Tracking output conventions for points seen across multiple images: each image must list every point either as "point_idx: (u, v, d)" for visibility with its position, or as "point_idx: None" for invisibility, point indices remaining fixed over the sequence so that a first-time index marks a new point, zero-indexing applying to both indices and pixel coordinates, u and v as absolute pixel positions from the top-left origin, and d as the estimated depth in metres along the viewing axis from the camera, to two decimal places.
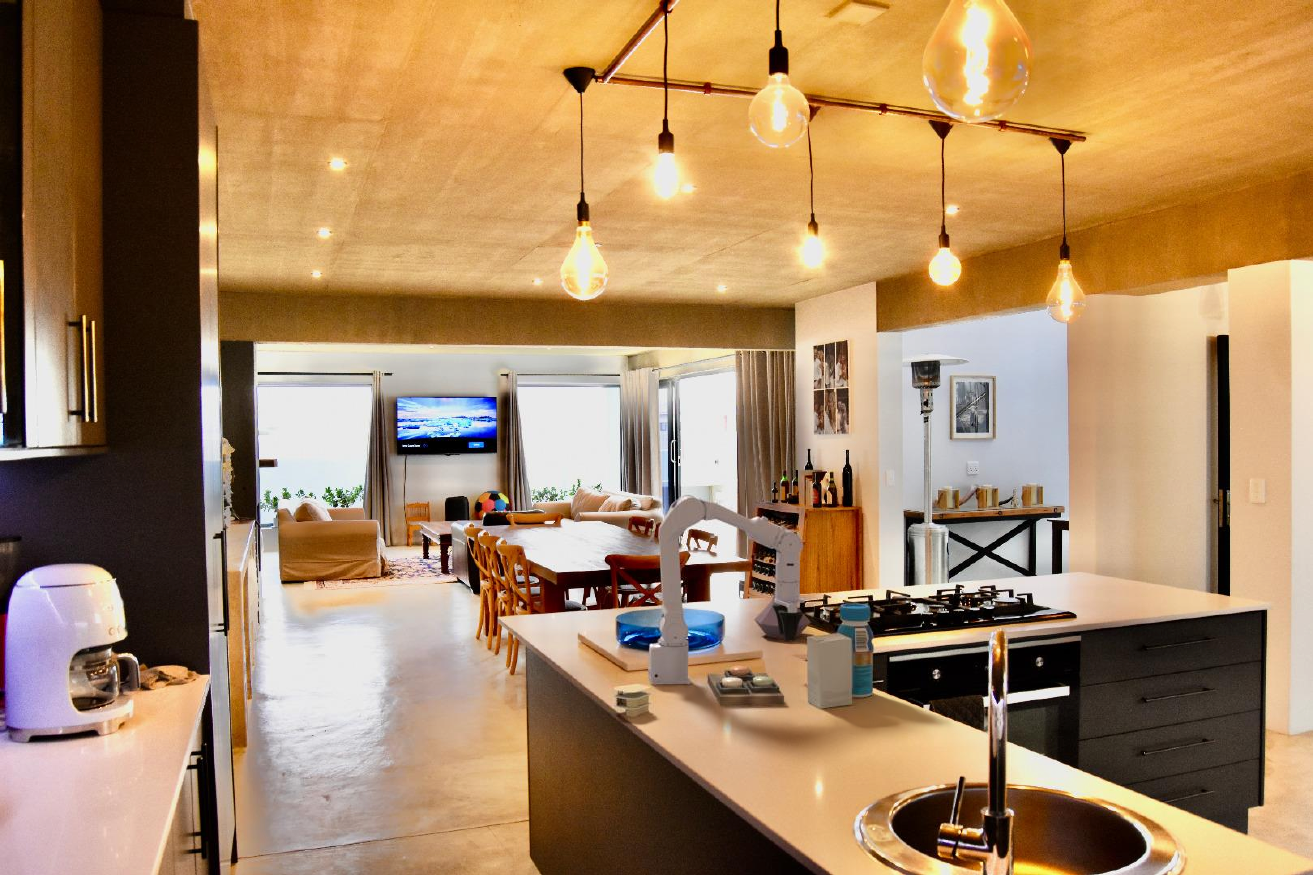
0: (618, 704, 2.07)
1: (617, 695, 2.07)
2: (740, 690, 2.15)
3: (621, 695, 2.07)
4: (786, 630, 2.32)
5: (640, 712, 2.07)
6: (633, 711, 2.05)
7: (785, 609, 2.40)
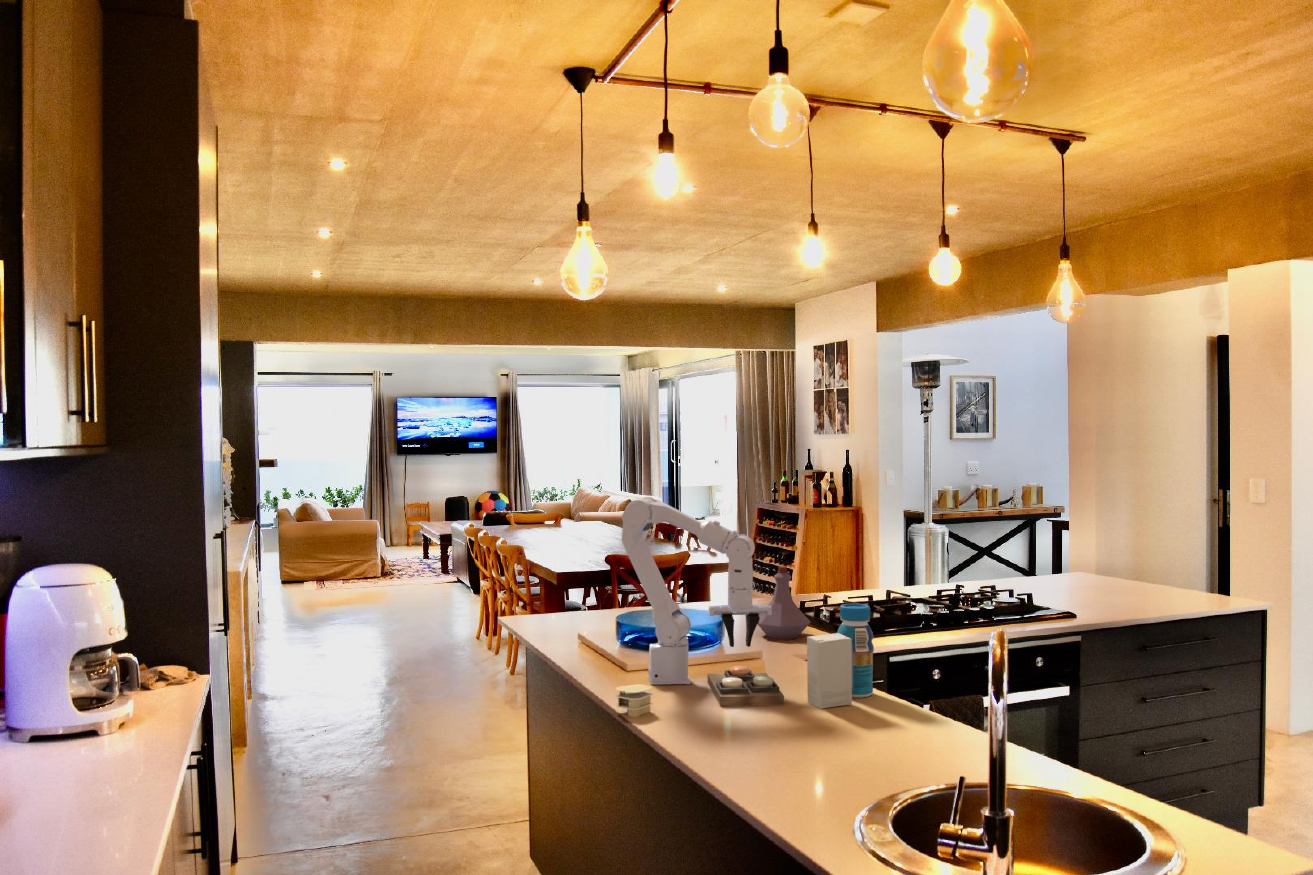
0: (620, 704, 2.07)
1: (619, 695, 2.06)
2: (740, 690, 2.15)
3: (623, 695, 2.06)
4: (728, 634, 2.30)
5: (642, 712, 2.07)
6: (635, 711, 2.05)
7: (748, 620, 2.29)
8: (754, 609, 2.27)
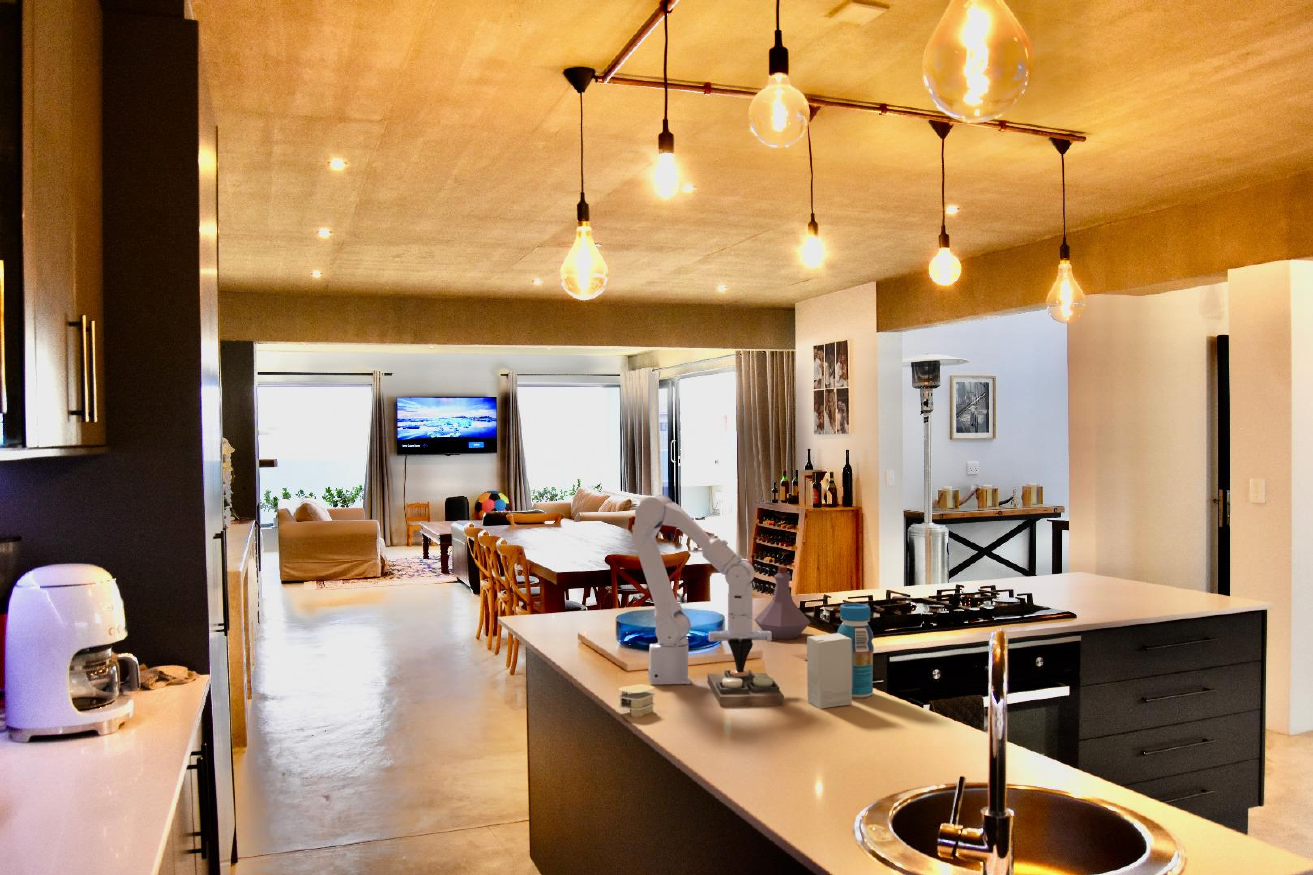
0: (622, 705, 2.07)
1: (622, 696, 2.06)
2: (740, 690, 2.15)
3: (626, 695, 2.06)
4: (735, 659, 2.30)
5: (645, 712, 2.07)
6: (638, 711, 2.05)
7: (741, 645, 2.29)
8: (754, 635, 2.27)
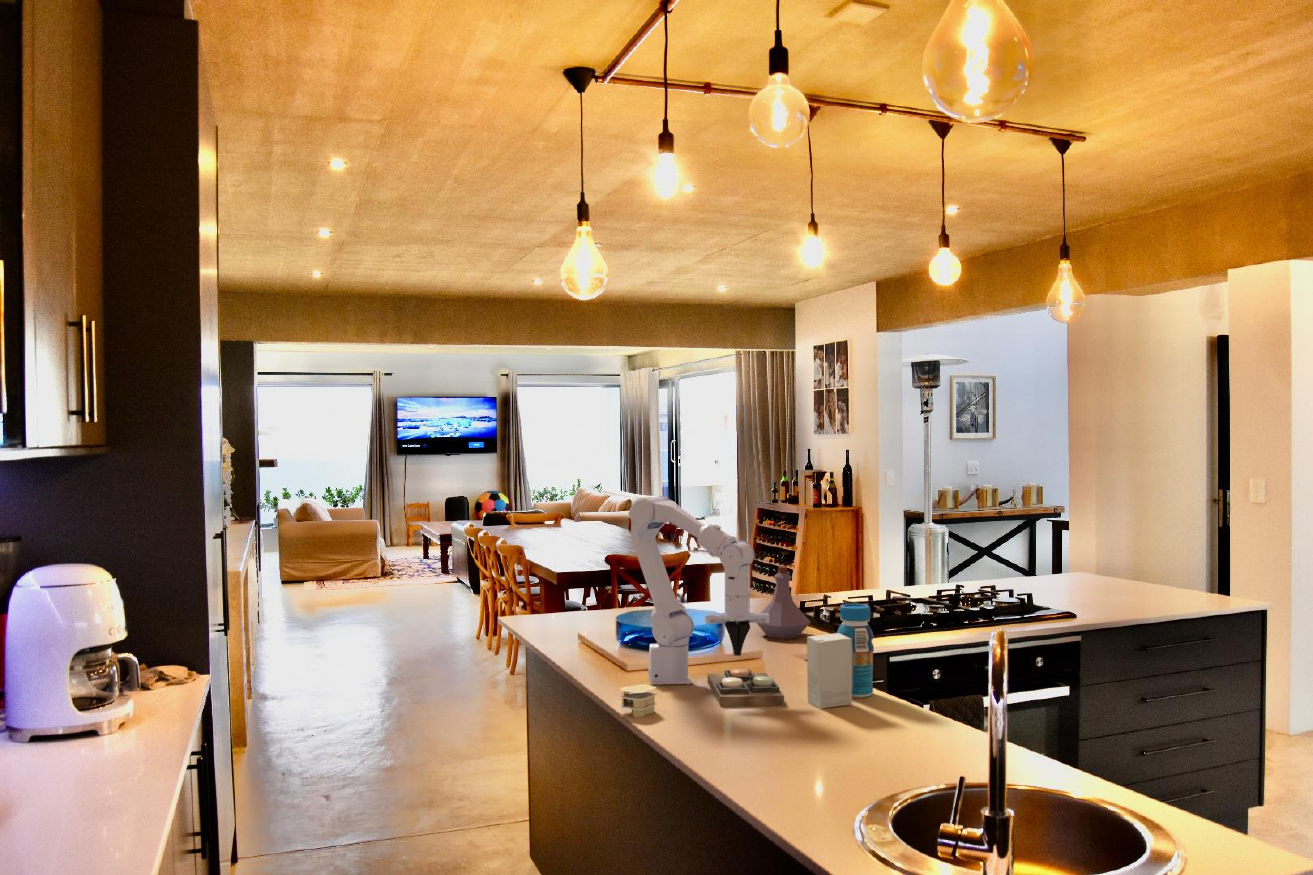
0: (624, 705, 2.07)
1: (623, 696, 2.06)
2: (740, 690, 2.15)
3: (627, 696, 2.06)
4: (732, 642, 2.25)
5: (646, 712, 2.07)
6: (640, 712, 2.04)
7: (738, 628, 2.24)
8: (751, 617, 2.22)
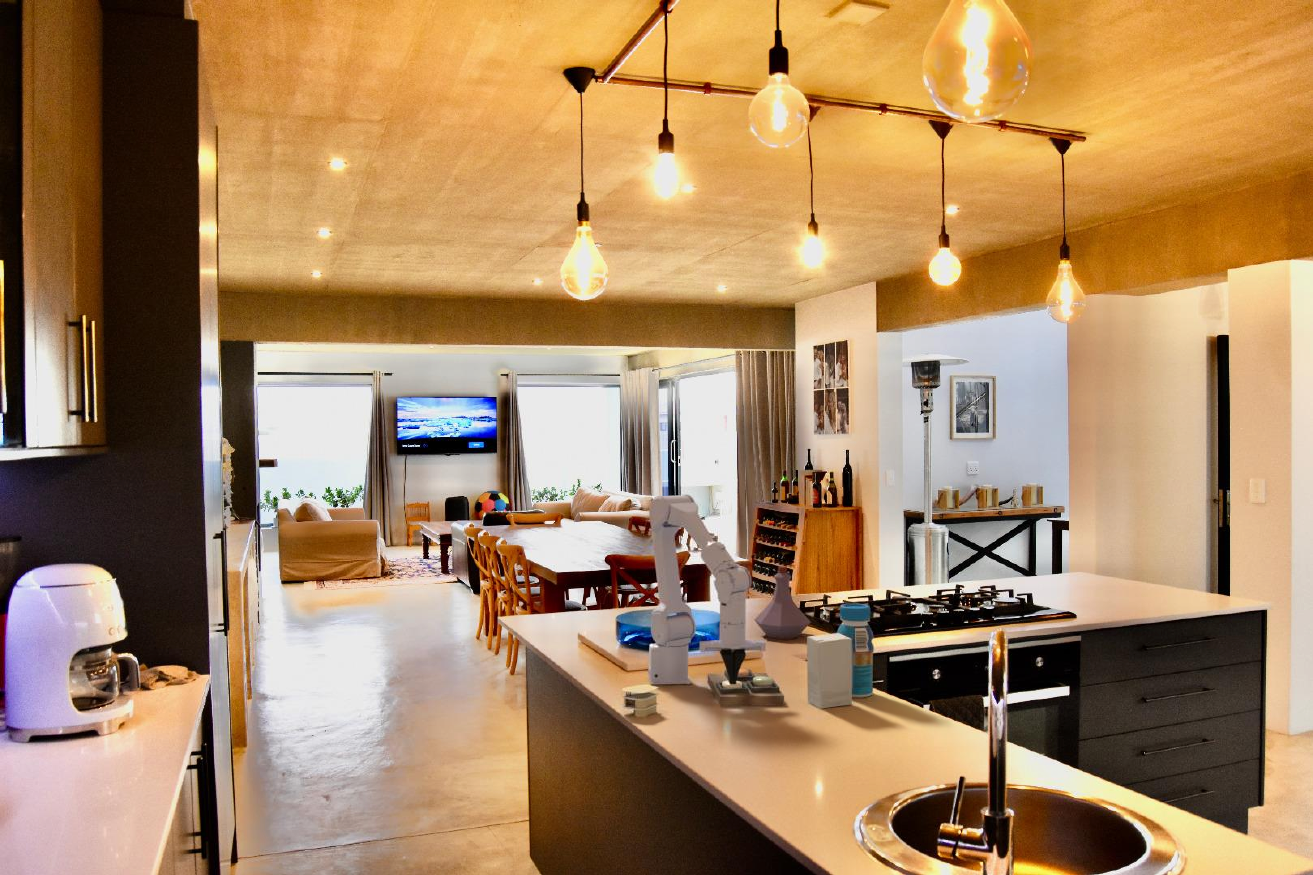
0: (626, 705, 2.07)
1: (625, 696, 2.06)
2: (740, 690, 2.15)
3: (629, 696, 2.06)
4: (727, 670, 2.19)
5: (648, 713, 2.06)
6: (642, 712, 2.04)
7: (733, 656, 2.18)
8: (747, 645, 2.16)
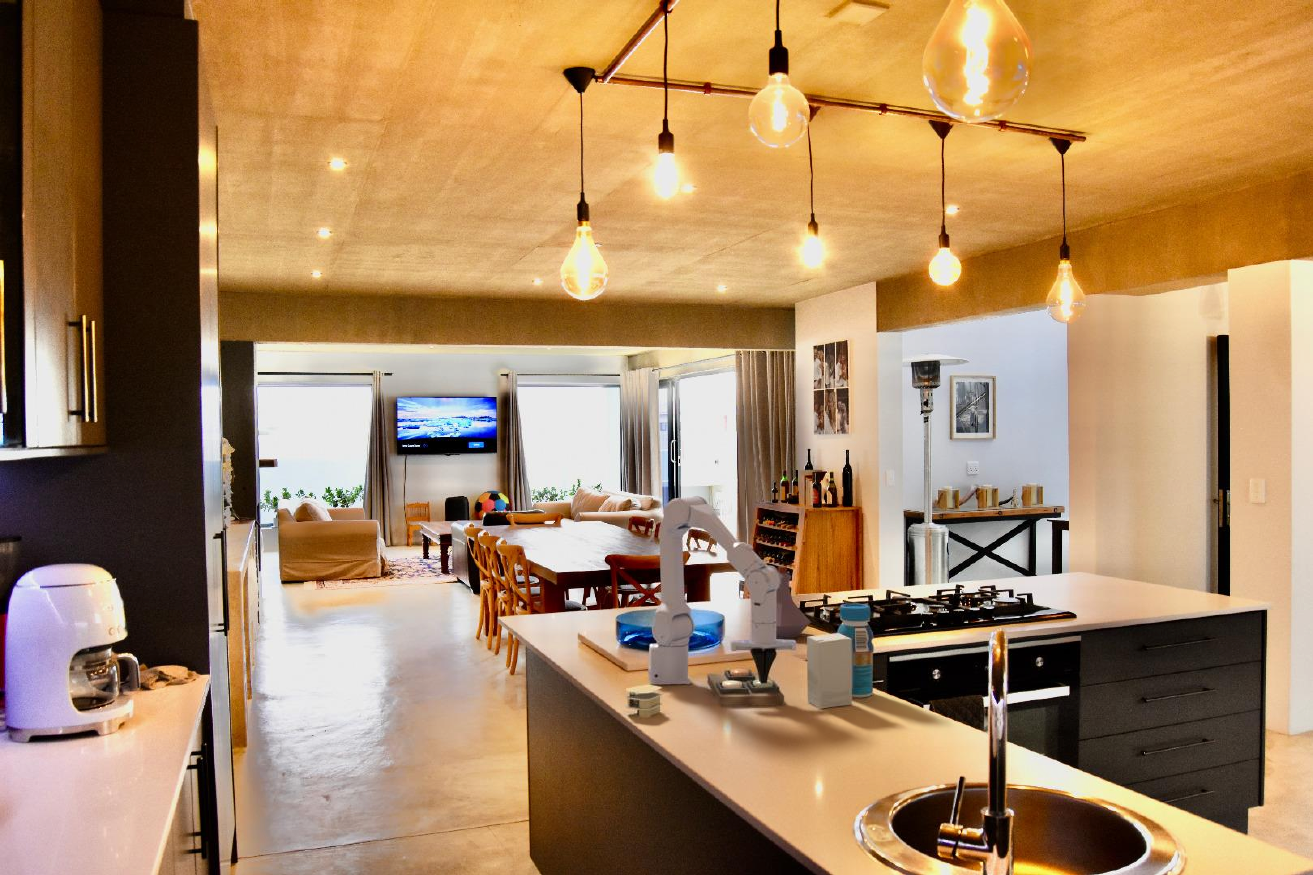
0: (630, 705, 2.06)
1: (629, 696, 2.06)
2: (740, 690, 2.15)
3: (633, 696, 2.06)
4: (758, 669, 2.20)
5: (652, 713, 2.06)
6: (646, 712, 2.04)
7: None
8: (778, 644, 2.18)
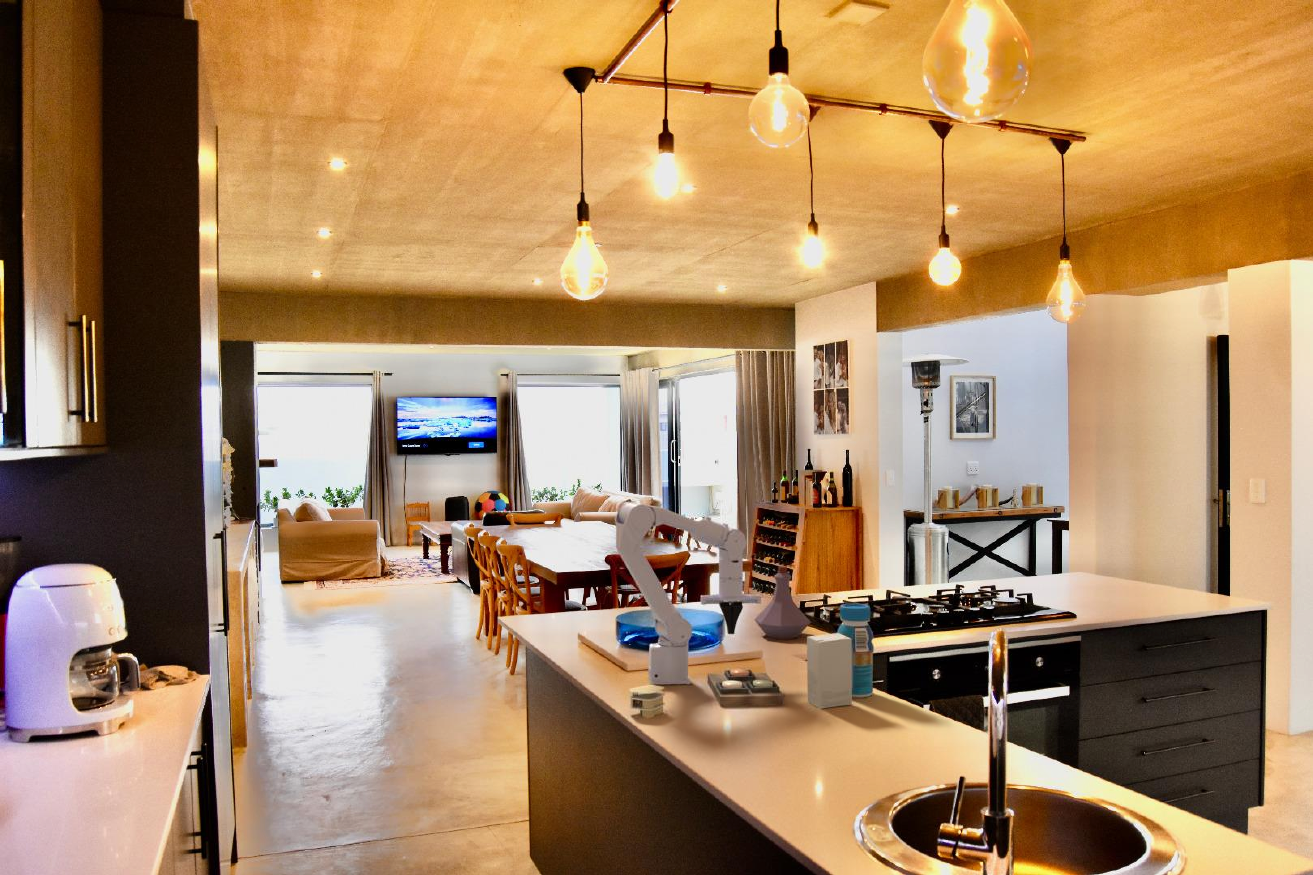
0: (633, 706, 2.06)
1: (633, 697, 2.06)
2: (740, 690, 2.15)
3: (637, 696, 2.06)
4: (726, 622, 2.40)
5: (655, 713, 2.06)
6: (650, 712, 2.04)
7: (731, 608, 2.39)
8: (744, 598, 2.37)
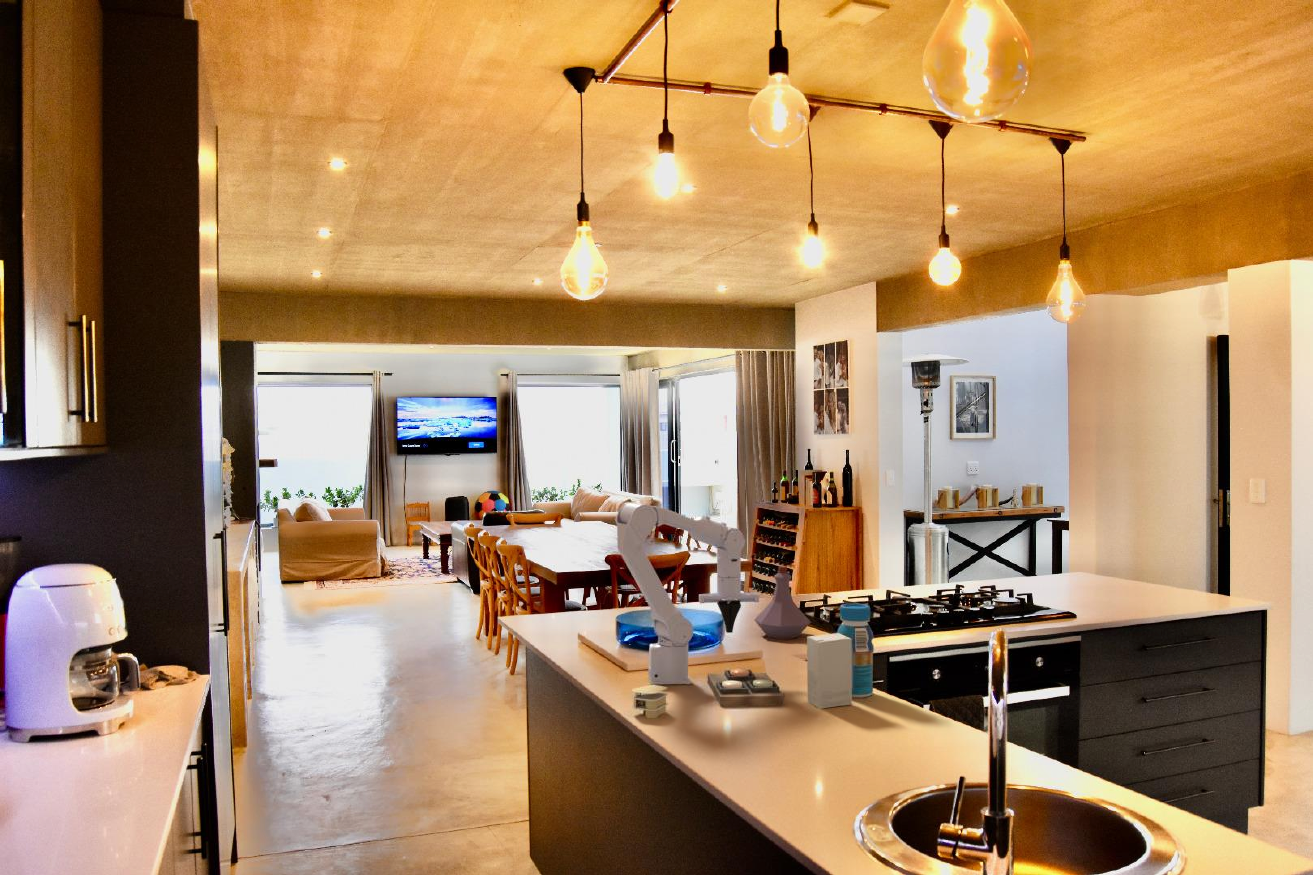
0: (636, 706, 2.06)
1: (636, 697, 2.05)
2: (740, 690, 2.15)
3: (640, 697, 2.05)
4: (724, 620, 2.41)
5: (659, 713, 2.06)
6: (653, 712, 2.04)
7: (730, 607, 2.40)
8: (742, 596, 2.38)
